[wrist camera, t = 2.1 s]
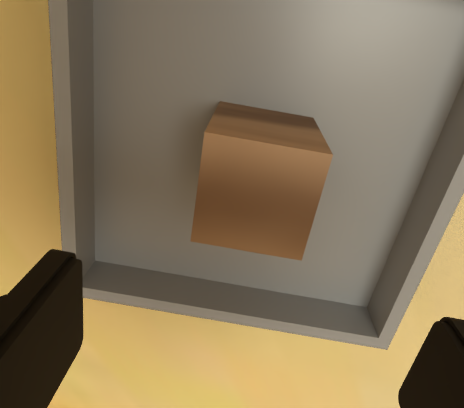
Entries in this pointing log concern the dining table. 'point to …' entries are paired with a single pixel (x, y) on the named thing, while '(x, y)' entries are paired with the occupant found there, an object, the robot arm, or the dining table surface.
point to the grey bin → (272, 98)
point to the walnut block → (259, 180)
